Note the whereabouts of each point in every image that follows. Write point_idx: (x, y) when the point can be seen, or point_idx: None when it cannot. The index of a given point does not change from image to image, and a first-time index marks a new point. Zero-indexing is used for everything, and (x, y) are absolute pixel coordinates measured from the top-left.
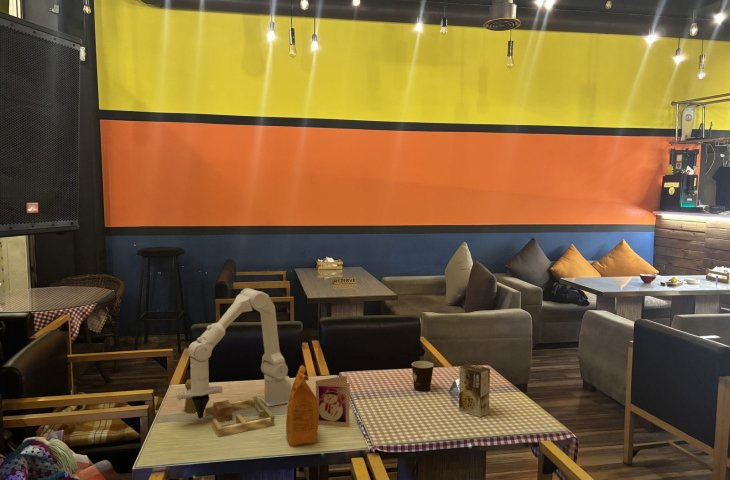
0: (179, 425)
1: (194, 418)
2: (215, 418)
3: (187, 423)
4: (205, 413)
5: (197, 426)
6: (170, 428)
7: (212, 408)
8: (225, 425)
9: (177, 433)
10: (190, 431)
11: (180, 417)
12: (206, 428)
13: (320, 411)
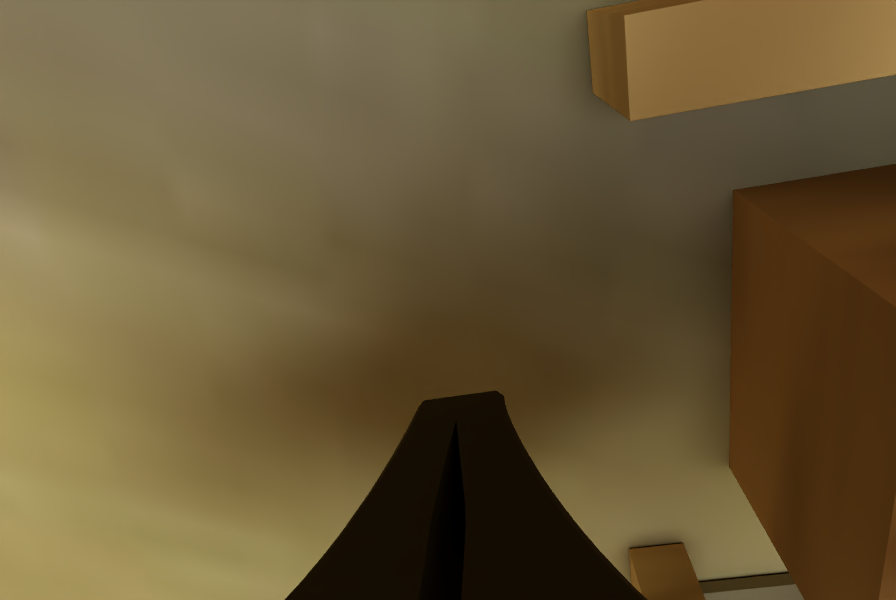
0: (138, 383)
1: (364, 173)
2: (740, 352)
3: (257, 348)
4: (599, 78)
5: None
6: (24, 442)
7: (811, 85)
8: None
9: (168, 593)
10: None
11: (65, 28)
12: None
13: None
